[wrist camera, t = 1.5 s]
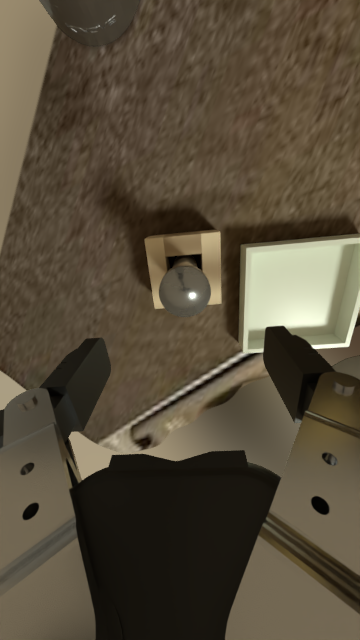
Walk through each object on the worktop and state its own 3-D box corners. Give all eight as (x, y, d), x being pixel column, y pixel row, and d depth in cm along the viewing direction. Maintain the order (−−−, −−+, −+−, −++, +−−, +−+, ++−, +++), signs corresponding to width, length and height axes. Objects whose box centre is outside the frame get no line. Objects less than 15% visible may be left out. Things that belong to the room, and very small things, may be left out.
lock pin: (166, 249, 28) (155, 269, 18) (201, 246, 28) (210, 264, 18) (170, 283, 30) (162, 318, 20) (203, 281, 30) (211, 315, 20)
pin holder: (149, 235, 27) (144, 239, 24) (215, 229, 27) (220, 231, 23) (158, 297, 31) (154, 308, 27) (217, 292, 30) (221, 303, 27)
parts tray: (240, 244, 27) (246, 247, 25) (359, 233, 27) (379, 235, 24) (238, 342, 33) (242, 353, 31) (335, 335, 33) (348, 346, 30)
